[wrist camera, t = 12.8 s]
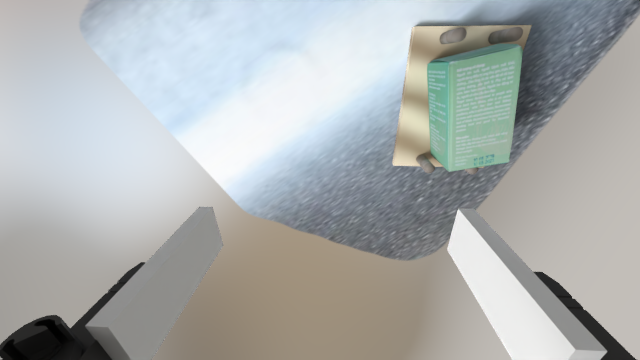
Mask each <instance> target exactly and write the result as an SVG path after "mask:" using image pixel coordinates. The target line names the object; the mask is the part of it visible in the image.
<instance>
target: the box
mask: <svg viewBox="0 0 640 360" xmlns="http://www.w3.org/2000/svg"><path fill="white" fill-rule="evenodd" d="M522 54H523V50H522V47H521V46H520V45H518V44H496V45H492V46H488V47H484V48H480V49H477V50H473V51H469V52H464V53H460V54H456V55H452V56H448V57H444V58H440V59H436V60H433V61H431V62H430V63H428V64H427V82H428V105H429V131H430V150H431V155H432V156H433V157H434V158H435V159H436V160H437V161H438V162H439V163H441V164H442V165H443V166H444V167H445V168H446V169H447V170H448V171H449V172H451V171H457V170H464V169H470V168H477V167H483V166H490V165H496V164H503V163H508V162H509V158H510V150H511V144H512V137H513V129H514V121H515V113H516V105H517V98H518V90H519V81H520V72H521V63H522Z"/></svg>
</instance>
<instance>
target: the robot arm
mask: <svg viewBox="0 0 640 360" xmlns="http://www.w3.org/2000/svg"><path fill="white" fill-rule="evenodd" d="M222 247H223V242H222V239H221V235H220V232H219V228H218V225H217V221H216V218H215V214H214V211H213V207H199V208H198V209H197V210H196V211H195V212H194V213H193V214H192V215H191V216H190V217H189V218H188V219H187V220H186V221H185V222H184V223H183V224H182V226H181V227H180V228H179V229H178V230H177V231H176V232H175V233H174V234H173V235H172V236H171V237H170V238H169V239H168V240H167V241H166V242H165V243H164V244H163V245H162V247H160V248H159V249H158V251H157V252H156V253H155V254H154V255H153V256H152V257H151V258H150V259H149V260H148V261H147V262H146V263H144V262H141V263H140V264H138V265H137V266H135V267H134V268H132V269H131V270H129V271H128V272H127V273H126V274H125V275H124V276H123V277H122V278H121V279H120V280H119V281H118V282H117V284H115V285H114V286H113V287H112V288H111V289H110V290H109V291H108V293H106V294H105V295H104V296H103V297H102V298H101V299H100V300H99V301H98V302H97V303H96V304H95V305H94V306H93V307H92V308H91V309H90V310H89V311H88V312H87V313H86V314H85V315H84V316H83V317H82V318H81V319H79V320H78V321H77V322H76V323H75V325H74V326H72V328H69V327H68V326H67V325H66V323H65V322H64V321H63V320H62V319H61V318H60V317H58V316H57V315H51V316H45V317H42V318H39V319H36V320H34V321H32V322H30V323H28V324H26V325H24V326H23V327H21V328H20V329H18V330H17V331H15V332H14V333H12V334H11V335H10V336H9V337H8V338H7V339H6V340H5V341H3V342H2V343H1V345H0V357H1V358H3V359H2V360H152V358H153V357H154V355H155V354H156V352H157V351H158V349H159V347H160V346H161V344H162V343H163V341H164V339H165V338H166V336H167V335H168V333H169V331H170V329H171V328H172V327H173V325H174V323H175V322H176V320H177V319H178V317H179V315H180V314H181V312H182V311H183V309H184V307H185V306H186V304H187V303H188V301H189V299H190V298H191V296H192V294H193V293H194V291H195V290H196V288H197V287H198V285H199V283H200V282H201V280H202V279H203V277H204V275H205V274H206V272H207V270H208V269H209V267H210V266H211V264H212V263H213V261H214V259H215V258H216V256H217V255H218V253H219V251H220V250H221V248H222ZM447 250H448V252H449V254H450V255H451V257H452V258H453V260H454V262H455V264H456V265H457V267H458V269H459V270H460V272H461V274H462V275H463V277H464V279H465V281H466V282H467V284H468V286H469V287H470V289H471V291H472V292H473V294H474V296H475V298H476V299H477V301H478V302H479V304H480V306H481V308H482V309H483V311H484V313H485V315H486V316H487V318H488V319H489V321H490V323H491V325H492V326H493V328H494V330H495V331H496V333H497V335H498V336H499V338H500V340H501V341H502V343H503V345H504V347H505V348H506V350H507V352H508V353H509V355H510V357H511V359H512V360H636V359H635V358H634V357H633V356H632V355H630V353H628V352H627V351H626V350H625V349H624V348H623V347H622V346H621V345H620V344H619V343H618V342H617V341H616V340H615V339H614V338H613V337H612V336H611V335H610V334H609V333H608V332H607V331H606V330H605V329H604V328H603V327H602V326H601V325H600V324H599V323H598V322H597V321H596V320H595V319H594V318H593V317H592V316H591V315H590V314H589V313H588V312H587V311H586V310H584V309H583V307H582V306H581V305H580V304H579V303H578V302H577V301H576V300H575V299H572V296H571V295H570V294H569V293H568V292H567V291H566V290H565V289H564V288H563V287H562V286H561V285H560V284H559V283H558V282H556V281H555V280H553V279H552V278H550V277H549V276H547V275H546V274H544V273H543V272H533V271H532V270H531V269H530V268H529V267H528V266H527V265H526V264H525V263H524V262H523V261H522V260H521V259H520V258H519V256H518V255H517V254H516V253H515V252H514V251H513V250H512V249H511V248H510V247H509V246H508V245H507V244H506V243H505V241H504V240H503V239H502V238H501V237H500V236H499V235H498V234H497V233H496V232H495V231H494V230H493V229H492V228H491V227H490V226H489V224H488V223H487V222H486V221H485V220H484V219H483V218H482V217H481V216H480V215H479V214H478V213H477V212H476V211H475V210H474V209H458V211H457V215H456V219H455V223H454V226H453V230H452V234H451V237H450V241H449V245H448V248H447Z"/></svg>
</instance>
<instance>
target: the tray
mask: <svg viewBox="0 0 640 360" xmlns="http://www.w3.org/2000/svg"><path fill="white" fill-rule="evenodd" d="M531 26H532V25H493V26H415V27H413V28H412V33H411V40H410V47H409V53H408V60H407V67H406V74H405V81H404V87H403V94H402V101H401V108H400V115H399V122H398V128H397V135H396V142H395V149H394V156H393V165H394V166H421V167H422V168H423V169H424V171H425V172H426V173H432V172H433V171H434V170H435V167H444V166H443V165H442V164H441V163H439V162H438V161H437V160H436V159H435V158H434V157H433V156H432V155H431V150H430V131H429V105H428V82H427V64H428V63H430V62H431V61H433V60H436V59H440V58H444V57H448V56H452V55H456V54H460V53H464V52H469V51H473V50H477V49H480V48H484V47H488V46H492V45H496V44H518V45H520V46H521V47H522V50H524V47H525V44H526V41H527V38H528V35H529V32H530V29H531ZM478 168H484V166H483V167H477V168H470V169H464V170H466V171H467V172H468V173H469V174H475V173H476V172H477V171H478Z"/></svg>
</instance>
